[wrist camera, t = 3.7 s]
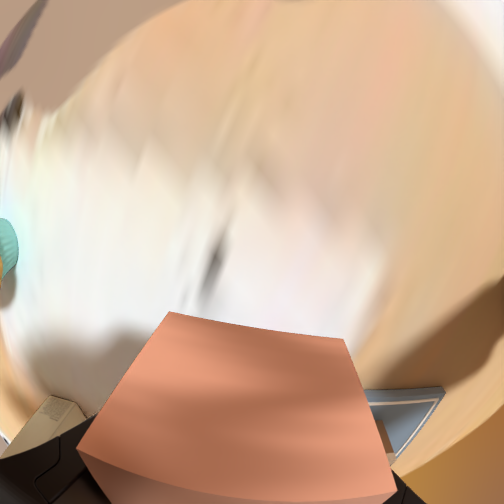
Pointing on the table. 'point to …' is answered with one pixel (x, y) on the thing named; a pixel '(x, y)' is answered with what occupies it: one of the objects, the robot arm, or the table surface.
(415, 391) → the blueprint board
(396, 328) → the table surface
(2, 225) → the cupcake
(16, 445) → the box
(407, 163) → the table surface
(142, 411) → the terracotta block
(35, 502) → the robot arm
